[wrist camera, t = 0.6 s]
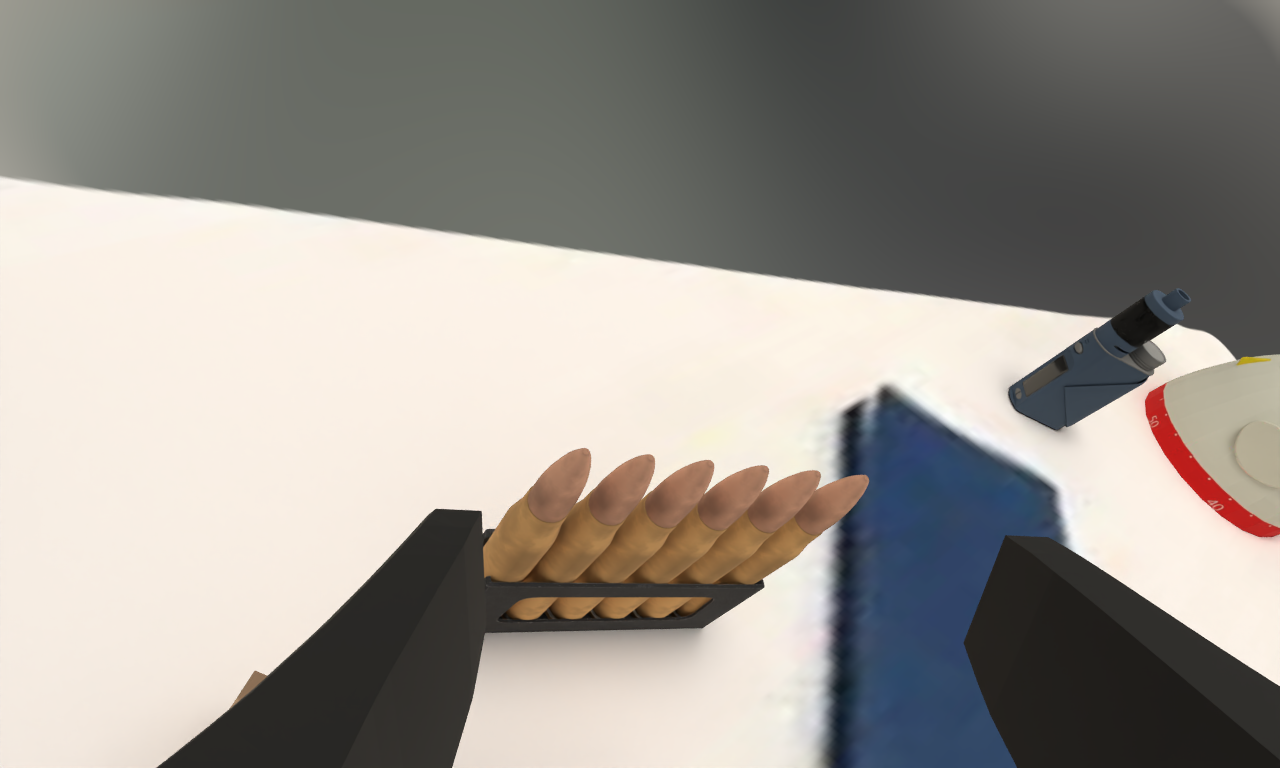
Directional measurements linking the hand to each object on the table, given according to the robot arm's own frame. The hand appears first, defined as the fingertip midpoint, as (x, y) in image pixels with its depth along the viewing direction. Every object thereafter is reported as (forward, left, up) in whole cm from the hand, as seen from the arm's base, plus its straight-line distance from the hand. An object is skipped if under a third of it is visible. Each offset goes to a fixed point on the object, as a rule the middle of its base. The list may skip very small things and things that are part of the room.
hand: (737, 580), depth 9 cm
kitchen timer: (+42, -49, -18) cm, 67 cm away
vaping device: (+35, -29, -18) cm, 48 cm away
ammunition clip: (+7, -2, -18) cm, 19 cm away
